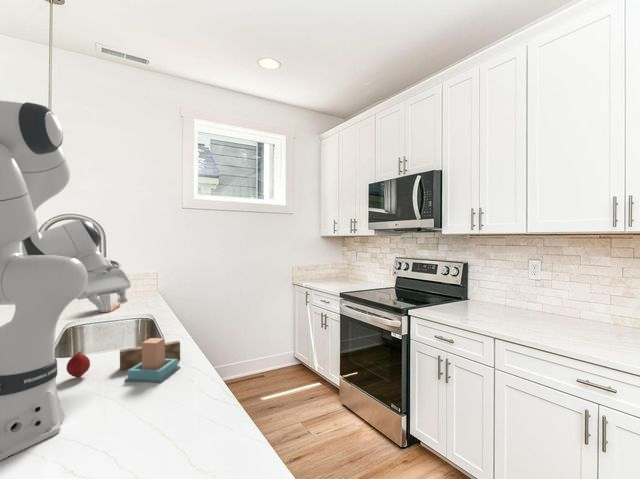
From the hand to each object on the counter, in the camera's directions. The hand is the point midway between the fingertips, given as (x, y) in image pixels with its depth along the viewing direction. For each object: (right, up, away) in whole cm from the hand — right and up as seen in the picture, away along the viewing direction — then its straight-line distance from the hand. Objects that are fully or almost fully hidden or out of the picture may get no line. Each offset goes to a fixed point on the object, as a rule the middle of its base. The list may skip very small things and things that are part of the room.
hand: (114, 305), depth 106 cm
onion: (-8, -21, -5) cm, 23 cm away
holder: (+14, -21, -2) cm, 25 cm away
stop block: (+14, -21, -2) cm, 25 cm away
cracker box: (-56, -20, +86) cm, 105 cm away
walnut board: (+9, -21, +6) cm, 24 cm away
